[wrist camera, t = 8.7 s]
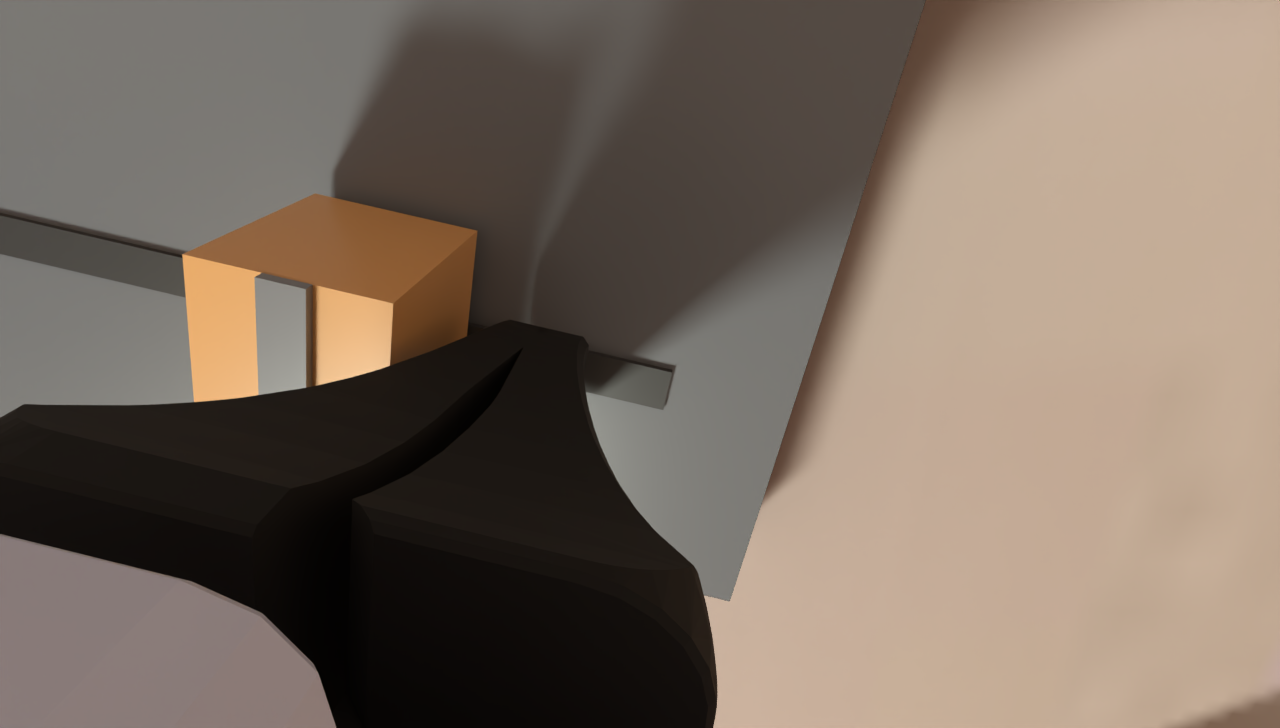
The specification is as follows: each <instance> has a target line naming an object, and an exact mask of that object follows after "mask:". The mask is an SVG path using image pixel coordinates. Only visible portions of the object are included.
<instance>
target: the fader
mask: <svg viewBox="0 0 1280 728" xmlns="http://www.w3.org/2000/svg"><path fill="white" fill-rule="evenodd" d="M476 241H477V230H472V229H468V228H463V227H459V226H455V225H450V224H446V223H442V222H437V221H433V220H429V219H424V218H420V217H416V216H411V215H407V214H402V213H398V212H394V211H389V210H385V209H381V208H376V207H372V206H368V205H363V204H359V203H355V202H350V201H346V200H341V199H337V198H333V197H328V196H324V195H320V194H313V195H311V196H308V197H306V198H304V199H302V200H300V201H297V202H295V203H293V204H291V205H289V206H287V207H284V208H282V209H280V210H278V211H276V212H273V213H271V214H269V215H267V216H265V217H263V218H260V219H258V220H256V221H254V222H252V223H249V224H247V225H245V226H243V227H241V228H239V229H236V230H234V231H232V232H230V233H228V234H225V235H223V236H221V237H219V238H217V239H215V240H212V241H210V242H208V243H206V244H204V245H201V246H199V247H197V248H195V249H193V250H191V251H188V252H186V253H184V254H182V256H183V269H184V281H185V294H186V307H187V320H188V332H189V345H190V358H191V370H192V383H193V396H194V402H202V401H213V400H224V399H234V398H242V397H249V396H256V395H262V394H269V393H275V392H282V391H288V390H295V389H301V388H307V387H312V386H317V385H321V384H325V383H330V382H334V381H338V380H342V379H347V378H351V377H354V376H358V375H362V374H365V373H369V372H372V371H375V370H379V369H382V368H385V367H387V366H390V365H393V364H396V363H399V362H402V361H405V360H407V359H410V358H413V357H416V356H419V355H422V354H424V353H427V352H430V351H433V350H435V349H437V348H440V347H442V346H445V345H447V344H450V343H452V342H454V341H457V340H459V339H462V338H464V337H466V336H467V330H468V320H469V310H470V300H471V290H472V280H473V270H474V260H475V250H476Z"/></svg>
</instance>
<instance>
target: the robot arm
mask: <svg viewBox="0 0 1280 728" xmlns="http://www.w3.org/2000/svg"><path fill="white" fill-rule="evenodd" d="M588 349H589V345H588V343H587V342H586V340H585V338H584V337H582V336H578V335H574V334H570V333H565V332H561V331H557V330H552V329H548V328H544V327H540V326H535V325H531V324H527V323H522V322H518V321H514V320H506V321H503V322H500V323H497V324H495V325H492V326H490V327H487V328H485V329H483V330H480V331H478V332H476V333H473V334H471V335H469V336H466V337H464V338H462V339H459V340H457V341H454V342H452V343H450V344H447V345H445V346H442V347H440V348H437V349H435V350H433V351H430V352H427V353H424V354H422V355H419V356H416V357H413V358H410V359H407V360H405V361H402V362H399V363H396V364H393V365H390V366H387V367H385V368H382V369H379V370H375V371H372V372H369V373H365V374H362V375H358V376H354V377H351V378H347V379H342V380H338V381H334V382H330V383H325V384H321V385H317V386H312V387H307V388H301V389H295V390H288V391H282V392H275V393H269V394H262V395H256V396H249V397H242V398H234V399H224V400H213V401H202V402H188V403H171V404H151V405H39V404H24V405H21V406H20V407H18V408H16V409H14V410H13V411H11V412H9V413H7V414H6V415H4V416H2V417H0V728H713V725H714V720H715V714H716V708H717V675H716V664H715V654H714V646H713V639H712V633H711V627H710V622H709V617H708V611H707V607H706V603H705V598H704V594H703V590H702V586H701V582H700V578H699V574H698V572H697V570H696V568H695V567H694V565H693V564H692V563H690V562H689V561H688V560H687V559H686V558H685V557H684V556H683V555H682V554H680V553H679V552H678V551H677V550H676V549H675V548H674V547H673V546H672V545H670V544H669V543H668V542H667V541H666V540H665V539H664V538H663V537H662V536H660V535H659V534H658V533H657V532H656V531H655V530H654V529H653V528H652V527H651V525H650V524H649V523H648V522H647V521H646V520H645V519H644V517H643V516H642V515H641V514H640V513H639V512H638V510H637V509H636V508H635V506H634V505H633V503H632V502H631V500H630V499H629V498H628V496H627V495H626V493H625V492H624V490H623V489H622V487H621V486H620V484H619V482H618V481H617V479H616V477H615V475H614V473H613V471H612V469H611V467H610V466H609V464H608V461H607V459H606V457H605V455H604V452H603V450H602V448H601V445H600V443H599V440H598V437H597V434H596V432H595V428H594V425H593V422H592V418H591V415H590V411H589V406H588V402H587V396H586V390H585V383H584V371H585V365H586V360H587V354H588Z"/></svg>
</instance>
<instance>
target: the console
mask: <svg viewBox="0 0 1280 728" xmlns="http://www.w3.org/2000/svg"><path fill="white" fill-rule="evenodd" d="M925 1H926V0H0V417H2V416H4V415H6V414H7V413H9V412H11V411H13V410H14V409H16V408H18V407H20V406H21V405H24V404H39V405H151V404H171V403H188V402H194V396H193V383H192V370H191V358H190V345H189V332H188V320H187V307H186V294H185V281H184V269H183V256H182V254H184V253H186V252H188V251H191V250H193V249H195V248H197V247H199V246H201V245H204V244H206V243H208V242H210V241H212V240H215V239H217V238H219V237H221V236H223V235H225V234H228V233H230V232H232V231H234V230H236V229H239V228H241V227H243V226H245V225H247V224H249V223H252V222H254V221H256V220H258V219H260V218H263V217H265V216H267V215H269V214H271V213H273V212H276V211H278V210H280V209H282V208H284V207H287V206H289V205H291V204H293V203H295V202H297V201H300V200H302V199H304V198H306V197H308V196H311V195H313V194H320V195H324V196H328V197H333V198H337V199H341V200H346V201H350V202H355V203H359V204H363V205H368V206H372V207H376V208H381V209H385V210H389V211H394V212H398V213H402V214H407V215H411V216H416V217H420V218H424V219H429V220H433V221H437V222H442V223H446V224H450V225H455V226H459V227H463V228H468V229H472V230H477V241H476V250H475V260H474V270H473V280H472V290H471V300H470V310H469V320H468V330H467V336H469V335H471V334H473V333H476V332H478V331H480V330H483V329H485V328H487V327H490V326H492V325H495V324H497V323H500V322H503V321H506V320H514V321H518V322H522V323H527V324H531V325H535V326H540V327H544V328H548V329H552V330H557V331H561V332H565V333H570V334H574V335H578V336H582V337H584V338H585V340H586V342H587V343H588V345H589V349H588V354H587V360H586V365H585V371H584V383H585V390H586V396H587V402H588V406H589V411H590V415H591V418H592V422H593V425H594V428H595V432H596V434H597V437H598V440H599V443H600V445H601V448H602V450H603V452H604V455H605V457H606V459H607V461H608V464H609V466H610V467H611V469H612V471H613V473H614V475H615V477H616V479H617V481H618V482H619V484H620V486H621V487H622V489H623V490H624V492H625V493H626V495H627V496H628V498H629V499H630V500H631V502H632V503H633V505H634V506H635V508H636V509H637V510H638V512H639V513H640V514H641V515H642V516H643V517H644V519H645V520H646V521H647V522H648V523H649V524H650V525H651V527H652V528H653V529H654V530H655V531H656V532H657V533H658V534H659V535H660V536H662V537H663V538H664V539H665V540H666V541H667V542H668V543H669V544H670V545H672V546H673V547H674V548H675V549H676V550H677V551H678V552H679V553H680V554H682V555H683V556H684V557H685V558H686V559H687V560H688V561H689V562H690V563H692V564H693V565H694V567H695V568H696V570H697V572H698V574H699V578H700V582H701V586H702V590H703V594H704V595H705V596H709V597H714V598H718V599H722V600H726V601H730V599H731V596H732V593H733V590H734V587H735V584H736V580H737V577H738V574H739V571H740V568H741V565H742V562H743V559H744V556H745V553H746V550H747V547H748V544H749V541H750V538H751V534H752V531H753V528H754V525H755V522H756V519H757V516H758V513H759V510H760V507H761V504H762V501H763V498H764V495H765V492H766V489H767V485H768V482H769V479H770V476H771V473H772V470H773V467H774V464H775V461H776V458H777V455H778V452H779V449H780V446H781V443H782V439H783V436H784V433H785V430H786V427H787V424H788V421H789V418H790V415H791V412H792V409H793V406H794V403H795V400H796V397H797V393H798V390H799V387H800V384H801V381H802V378H803V375H804V372H805V369H806V366H807V363H808V360H809V357H810V354H811V351H812V348H813V344H814V341H815V338H816V335H817V332H818V329H819V326H820V323H821V320H822V317H823V314H824V311H825V308H826V305H827V302H828V298H829V295H830V292H831V289H832V286H833V283H834V280H835V277H836V274H837V271H838V268H839V265H840V262H841V259H842V256H843V253H844V249H845V246H846V243H847V240H848V237H849V234H850V231H851V228H852V225H853V222H854V219H855V216H856V213H857V210H858V207H859V203H860V200H861V197H862V194H863V191H864V188H865V185H866V182H867V179H868V176H869V173H870V170H871V167H872V164H873V161H874V157H875V154H876V151H877V148H878V145H879V142H880V139H881V136H882V133H883V130H884V127H885V124H886V121H887V118H888V115H889V112H890V108H891V105H892V102H893V99H894V96H895V93H896V90H897V87H898V84H899V81H900V78H901V75H902V72H903V69H904V66H905V62H906V59H907V56H908V53H909V50H910V47H911V44H912V41H913V38H914V35H915V32H916V29H917V26H918V23H919V20H920V17H921V13H922V10H923V7H924V4H925Z"/></svg>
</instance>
